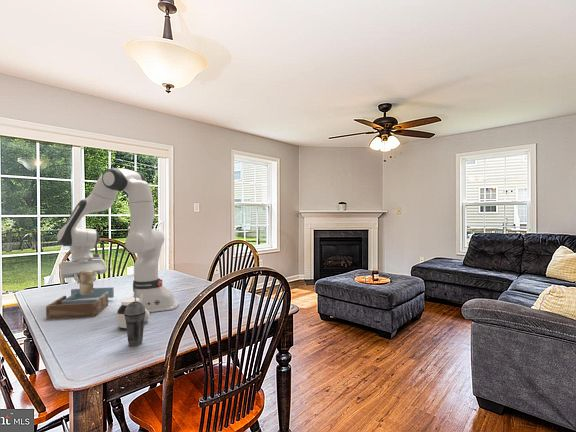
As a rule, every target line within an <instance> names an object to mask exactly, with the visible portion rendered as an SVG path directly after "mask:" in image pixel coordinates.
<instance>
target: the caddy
mask: <svg viewBox="0 0 576 432" xmlns="http://www.w3.org/2000/svg"><path fill="white" fill-rule="evenodd" d="M66 298H67V295H63V296H61V297H59V298H57V299H56V300H54V301H53V302H51V303H49V304H47V305H46V306H45V310H46V311H45V313H46V314H45V316H46V318H45V319H46V320H59V319H60V320H61V319H73V318H74V319H75V318H87V317H88V318H89V317H97V316H98V315H99V314H100V313H101V312H102V311H103V310H104V309H106V308H107V307H108V306H109V298H108V294H104V295H103V296H102V297H101V298H99V299H98V300H97V301H95V302H94V303H81V304H64V305H61V301H63V300H64V299H66Z"/></svg>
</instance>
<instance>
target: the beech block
mask: <svg viewBox="0 0 576 432" xmlns="http://www.w3.org/2000/svg"><path fill="white" fill-rule="evenodd" d="M93 277H94V276H93V271H92V270H89V271H80V277H79V279H81V283H79V289H80V294H81V295H84V294H90V293H93V288H94V281H93Z"/></svg>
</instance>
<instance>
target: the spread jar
mask: <svg viewBox="0 0 576 432" xmlns="http://www.w3.org/2000/svg"><path fill="white" fill-rule="evenodd" d="M132 302H135V298H133V297H127V298H123V299H122V300H121V305H120V306H119V308H117V312H116V323H117V327H118V329H120V330H122V331H127V327H126V320H125V315H124V313H125V309H126V307H127V306H128V305H129V304H130V303H132ZM136 302H140V299H139V298H136ZM145 311H146V313H145V318H144V323H145V322H147V321H148V320H149V319H150V318H151V314H150V313H151V312H149V311H148V310H147V309H146V308H145Z"/></svg>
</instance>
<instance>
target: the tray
mask: <svg viewBox="0 0 576 432" xmlns="http://www.w3.org/2000/svg"><path fill="white" fill-rule="evenodd" d="M114 291H115V290H114V286H113V287H112V286H109V287H107V286H106V287H93V293H90V294H84V295H81V294H80V288H71V289H70V295H69V296H68V297H66V299H64V300H63V301H61V305H64V304H81V303H94V302H95V301H97V300H98V299H99V298H101V297H102V296H103V295H104V294H108V299H113V298H115V296H114V295H115V292H114Z"/></svg>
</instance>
